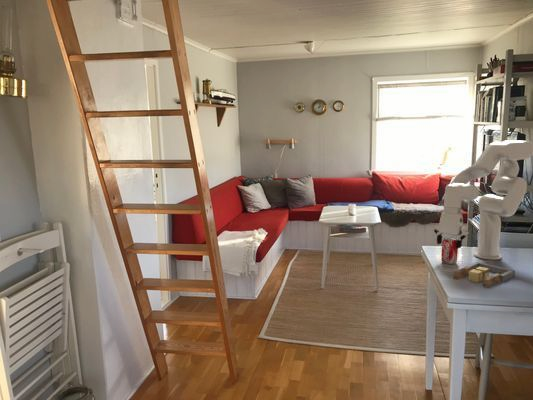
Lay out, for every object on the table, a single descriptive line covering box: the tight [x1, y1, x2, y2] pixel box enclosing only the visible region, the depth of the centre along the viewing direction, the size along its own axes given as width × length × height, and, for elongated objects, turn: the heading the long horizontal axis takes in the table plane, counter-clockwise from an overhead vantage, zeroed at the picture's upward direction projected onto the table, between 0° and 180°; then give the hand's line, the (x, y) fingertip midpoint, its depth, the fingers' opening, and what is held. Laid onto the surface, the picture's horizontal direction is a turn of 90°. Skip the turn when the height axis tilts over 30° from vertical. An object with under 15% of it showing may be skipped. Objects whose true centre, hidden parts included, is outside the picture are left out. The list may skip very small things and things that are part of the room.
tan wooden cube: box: [468, 269, 483, 283], centre depth 188 cm, size 4×4×4 cm
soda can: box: [440, 236, 459, 265], centre depth 212 cm, size 7×7×12 cm
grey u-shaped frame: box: [464, 261, 516, 282], centre depth 196 cm, size 12×17×2 cm
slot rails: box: [453, 265, 501, 288], centre depth 189 cm, size 12×14×3 cm
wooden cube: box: [476, 267, 490, 280], centre depth 192 cm, size 4×4×4 cm
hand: (448, 245), depth 211 cm, fingers open, 9 cm apart
